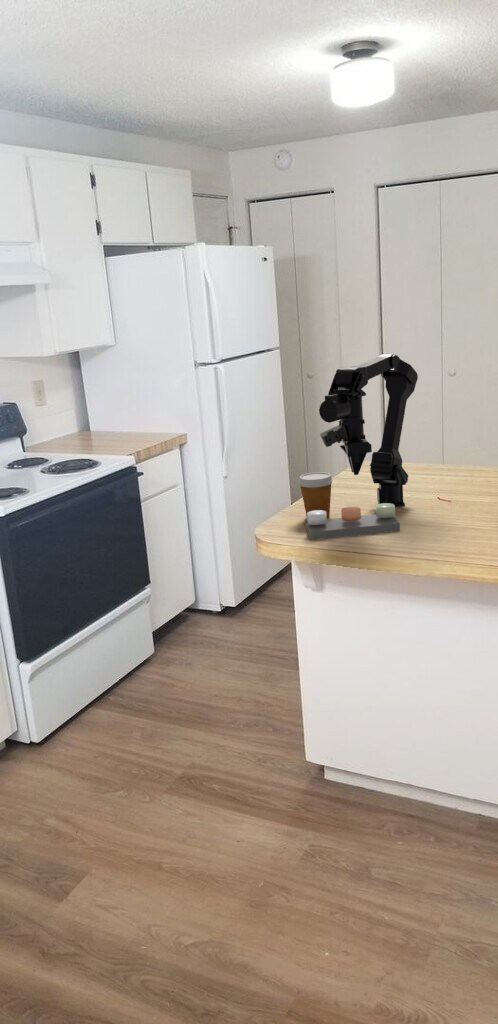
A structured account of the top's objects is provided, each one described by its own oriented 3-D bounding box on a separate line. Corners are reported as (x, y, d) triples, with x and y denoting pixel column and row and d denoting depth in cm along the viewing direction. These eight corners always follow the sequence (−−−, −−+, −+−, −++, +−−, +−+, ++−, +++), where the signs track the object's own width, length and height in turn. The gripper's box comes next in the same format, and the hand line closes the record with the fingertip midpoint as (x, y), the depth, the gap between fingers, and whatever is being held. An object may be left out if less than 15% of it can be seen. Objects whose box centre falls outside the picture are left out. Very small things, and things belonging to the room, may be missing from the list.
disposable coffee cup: (325, 523, 223) (322, 481, 220) (294, 521, 228) (291, 479, 225) (341, 514, 231) (338, 472, 228) (311, 511, 236) (308, 470, 233)
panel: (391, 519, 222) (390, 512, 221) (399, 530, 212) (399, 523, 211) (306, 528, 221) (305, 521, 220) (311, 539, 211) (310, 532, 211)
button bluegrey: (325, 518, 218) (324, 509, 217) (328, 523, 213) (327, 514, 212) (306, 520, 218) (305, 511, 217) (309, 525, 213) (308, 516, 212)
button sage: (392, 511, 218) (392, 502, 218) (397, 516, 213) (396, 507, 213) (374, 513, 218) (373, 504, 217) (378, 518, 213) (377, 509, 213)
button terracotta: (359, 514, 218) (358, 505, 217) (362, 520, 213) (362, 510, 213) (340, 516, 218) (339, 507, 217) (343, 522, 213) (343, 512, 212)
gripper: (316, 413, 225) (320, 468, 229) (326, 424, 207) (330, 484, 211) (356, 409, 225) (359, 464, 230) (370, 420, 207) (373, 480, 212)
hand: (355, 473), depth 221 cm, fingers open, 3 cm apart
